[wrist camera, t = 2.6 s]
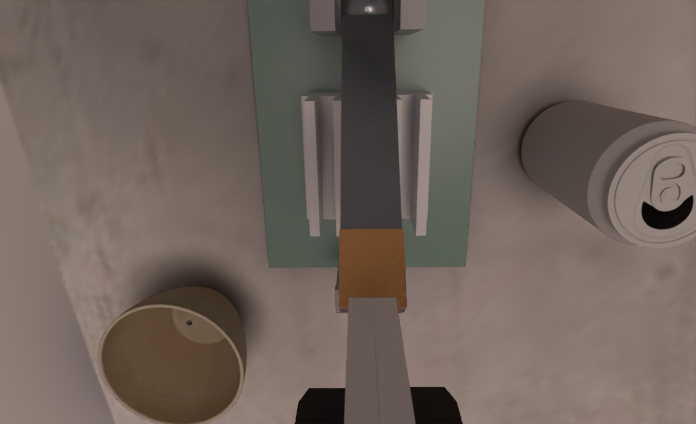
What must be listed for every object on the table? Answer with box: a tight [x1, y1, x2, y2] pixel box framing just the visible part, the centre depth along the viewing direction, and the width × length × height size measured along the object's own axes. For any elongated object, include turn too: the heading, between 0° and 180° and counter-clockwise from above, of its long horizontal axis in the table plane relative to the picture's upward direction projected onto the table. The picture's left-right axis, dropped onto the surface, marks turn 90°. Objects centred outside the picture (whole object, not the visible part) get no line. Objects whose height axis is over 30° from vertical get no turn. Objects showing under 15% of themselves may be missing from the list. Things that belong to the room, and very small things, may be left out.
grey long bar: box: [339, 0, 407, 312], centre depth 20 cm, size 16×3×2 cm
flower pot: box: [98, 286, 247, 424], centre depth 34 cm, size 10×10×7 cm
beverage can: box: [521, 101, 696, 249], centre depth 27 cm, size 6×6×12 cm
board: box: [247, 0, 485, 313], centre depth 29 cm, size 20×15×8 cm
